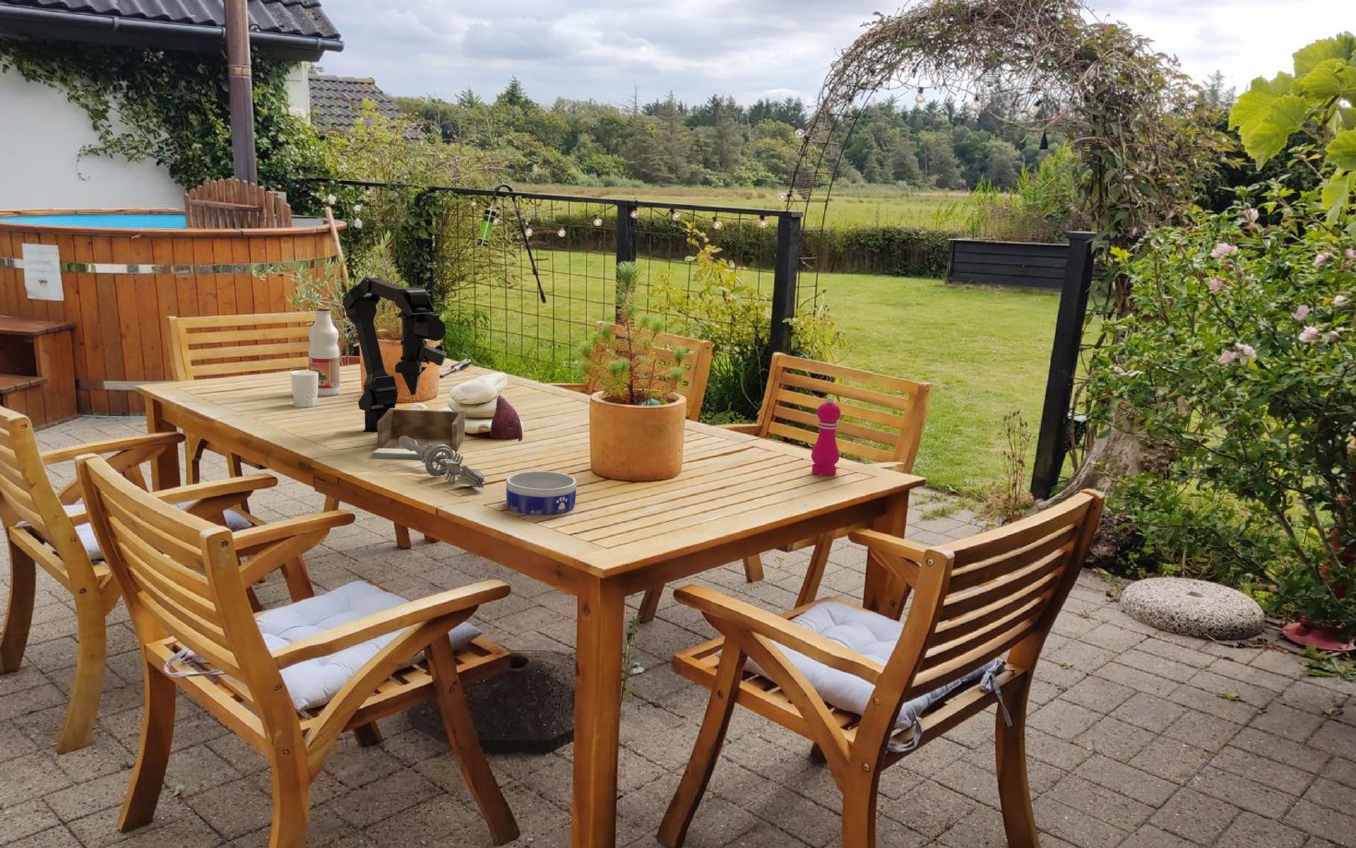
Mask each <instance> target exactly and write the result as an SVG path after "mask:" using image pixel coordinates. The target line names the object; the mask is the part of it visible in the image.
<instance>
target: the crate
mask: <svg viewBox="0 0 1356 848" xmlns="http://www.w3.org/2000/svg"><path fill="white" fill-rule="evenodd" d="M465 414H466V412H465V411H460V410H458V411H455V410H429V409H403V408H401V409H399V408H398V409H397V408H396V409H395V408H391V409H389V410H388V411H387V412H386V413H385V414H384V415H383V417H382V418H381V419H380V420H379V421H378V422H377V432H376V433H377V449H378V448H389V449H405V448H403V447H402V446H401V445H400V443H399V438H400V437H401V436H408V437H410V438H412V439H413V440H415V441H416V443H417V444H418V445H420V446H426V447H427V445H428V444H431V445H432V448H434V447H435V446H438V445H447V446H449V447H450V448H451V449H452V450H453V451H455V453H458V450H459V449H460V447H461V445H462V444H463V442H464V440H465V433H466V432H465V431H466V430H465V428H466V427H465V424H466V415H465ZM432 448H431V449H432Z"/></svg>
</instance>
